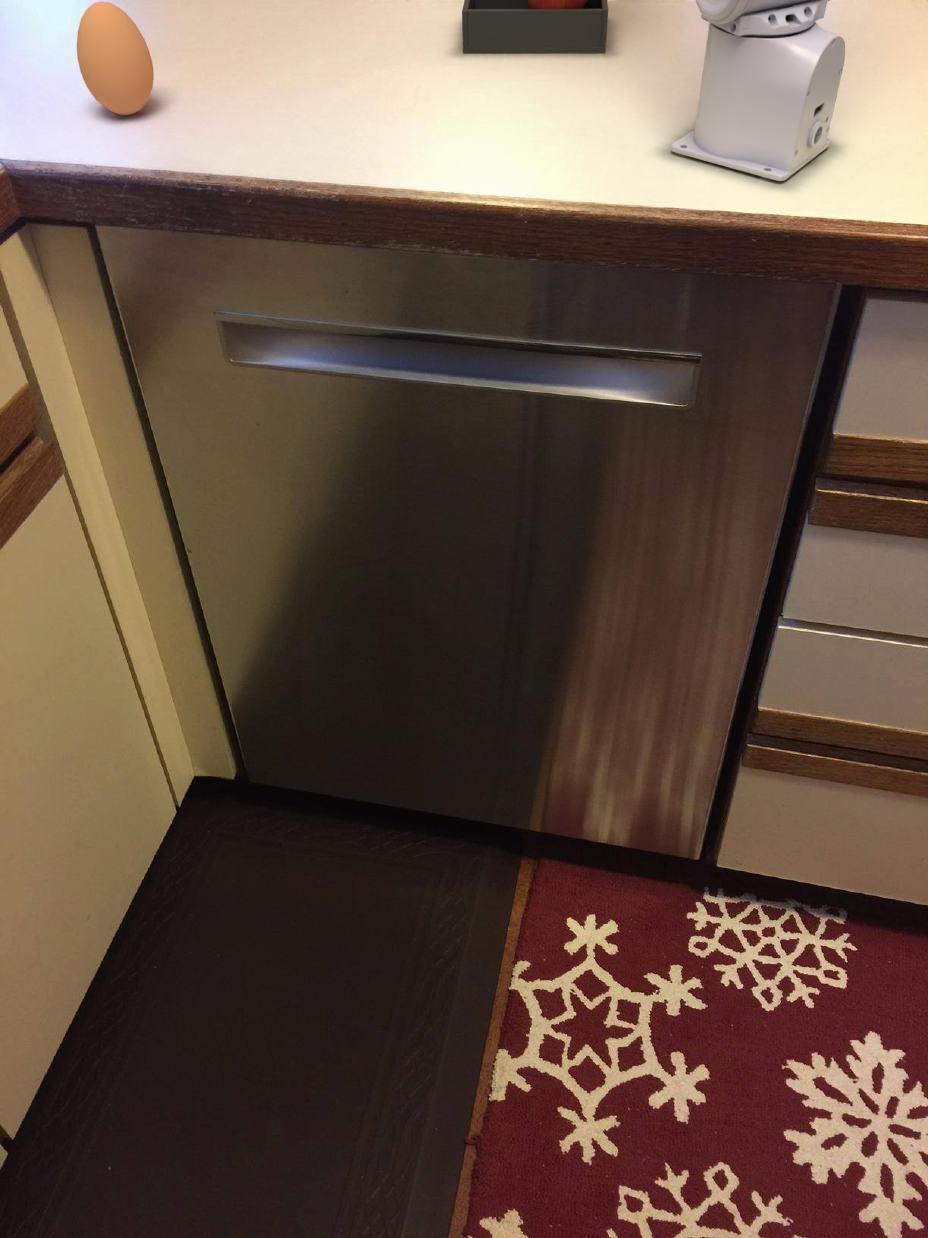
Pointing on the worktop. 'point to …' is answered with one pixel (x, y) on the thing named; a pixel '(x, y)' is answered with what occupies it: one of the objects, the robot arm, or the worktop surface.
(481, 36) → the bin
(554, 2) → the onion
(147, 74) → the egg
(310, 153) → the worktop surface
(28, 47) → the worktop surface
